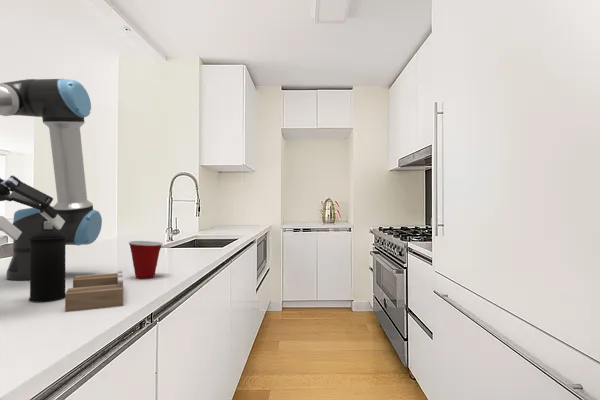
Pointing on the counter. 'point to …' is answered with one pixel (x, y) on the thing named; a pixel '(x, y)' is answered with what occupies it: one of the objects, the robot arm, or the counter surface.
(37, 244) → the aerosol can
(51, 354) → the counter surface
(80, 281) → the cutout stand
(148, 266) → the plastic cup
